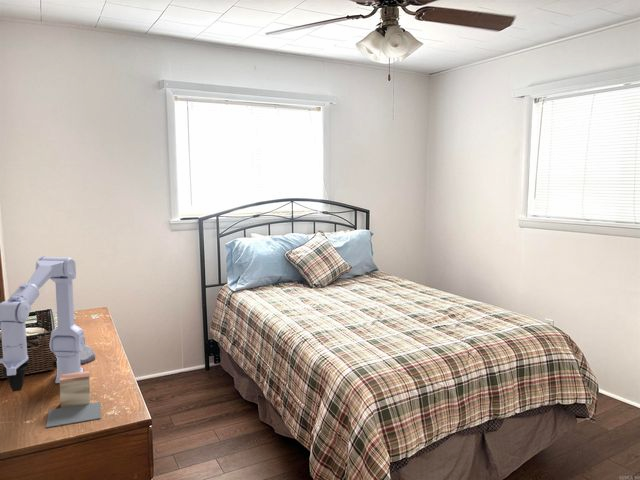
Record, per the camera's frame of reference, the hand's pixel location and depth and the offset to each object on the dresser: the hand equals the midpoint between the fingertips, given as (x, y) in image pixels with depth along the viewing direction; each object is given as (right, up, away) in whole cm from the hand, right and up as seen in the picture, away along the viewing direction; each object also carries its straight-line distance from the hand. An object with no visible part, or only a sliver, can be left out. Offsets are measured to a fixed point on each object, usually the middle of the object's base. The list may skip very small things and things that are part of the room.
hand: (17, 388), depth 134 cm
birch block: (+9, -9, +14) cm, 19 cm away
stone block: (-6, -4, +44) cm, 45 cm away
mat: (+13, -10, +7) cm, 17 cm away
